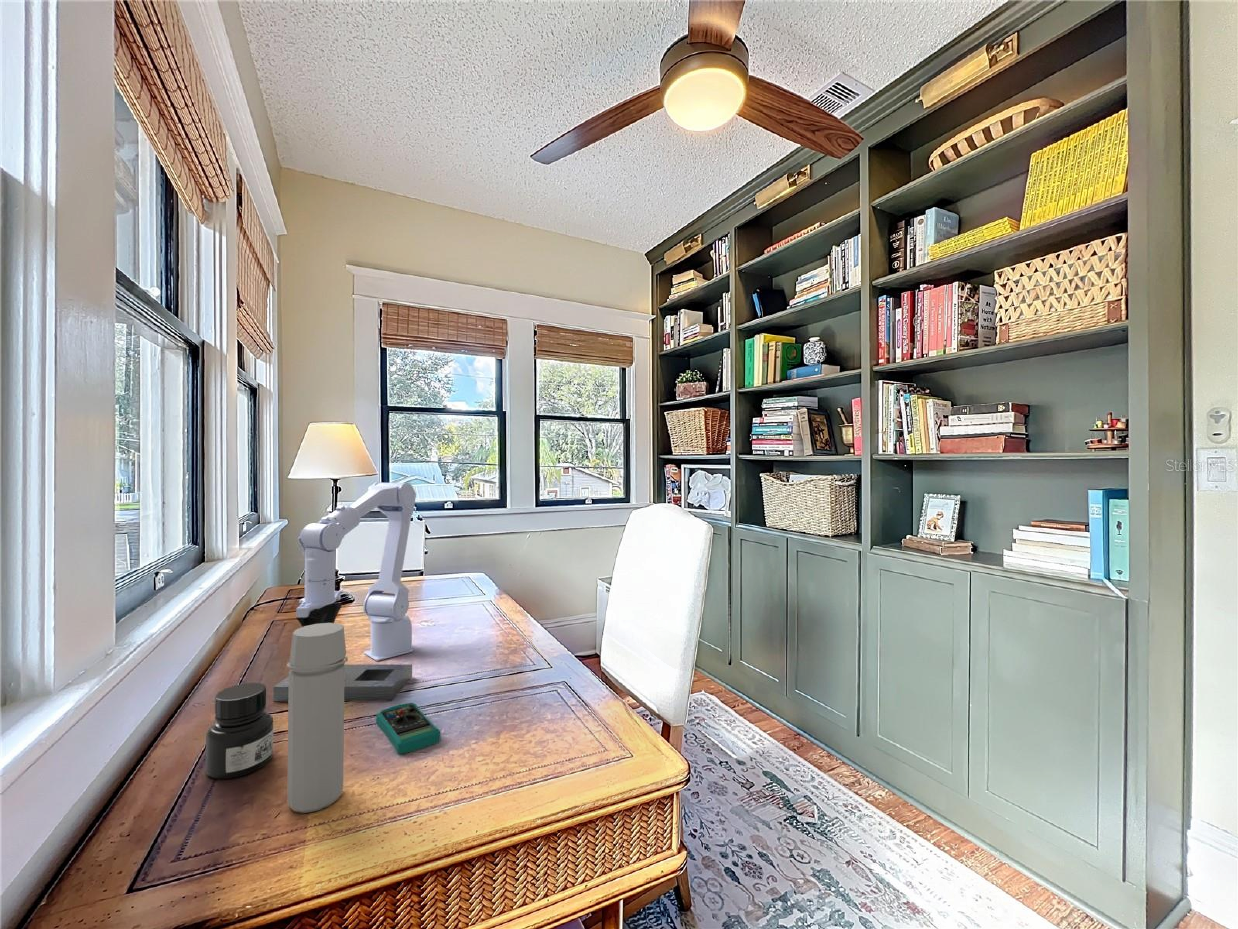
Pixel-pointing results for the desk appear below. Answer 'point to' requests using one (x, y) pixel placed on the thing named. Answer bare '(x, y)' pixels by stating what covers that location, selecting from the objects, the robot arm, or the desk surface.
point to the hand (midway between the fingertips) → (319, 641)
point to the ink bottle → (239, 732)
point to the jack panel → (364, 682)
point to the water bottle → (316, 716)
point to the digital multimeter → (407, 728)
